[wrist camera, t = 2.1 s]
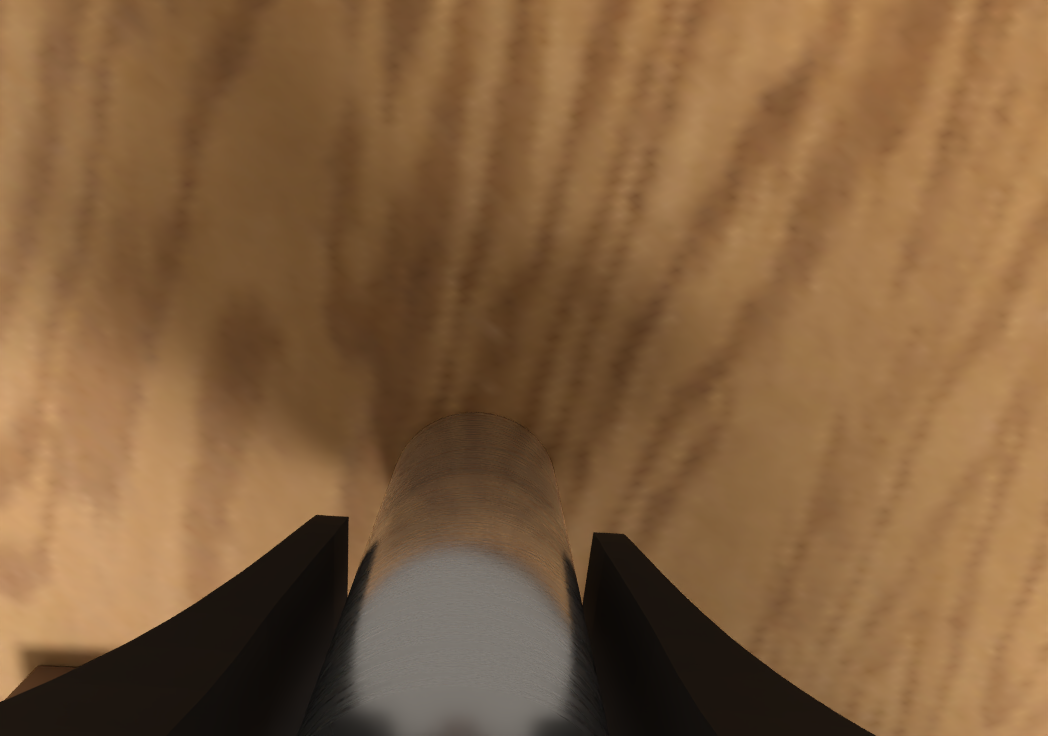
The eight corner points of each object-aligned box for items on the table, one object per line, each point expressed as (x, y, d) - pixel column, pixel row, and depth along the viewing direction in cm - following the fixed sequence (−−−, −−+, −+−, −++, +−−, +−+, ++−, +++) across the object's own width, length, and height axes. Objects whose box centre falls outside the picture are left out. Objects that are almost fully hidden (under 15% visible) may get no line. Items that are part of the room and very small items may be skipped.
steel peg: (564, 418, 14) (648, 696, 6) (546, 562, 15) (598, 946, 7) (396, 406, 14) (267, 680, 6) (390, 553, 15) (276, 943, 7)
